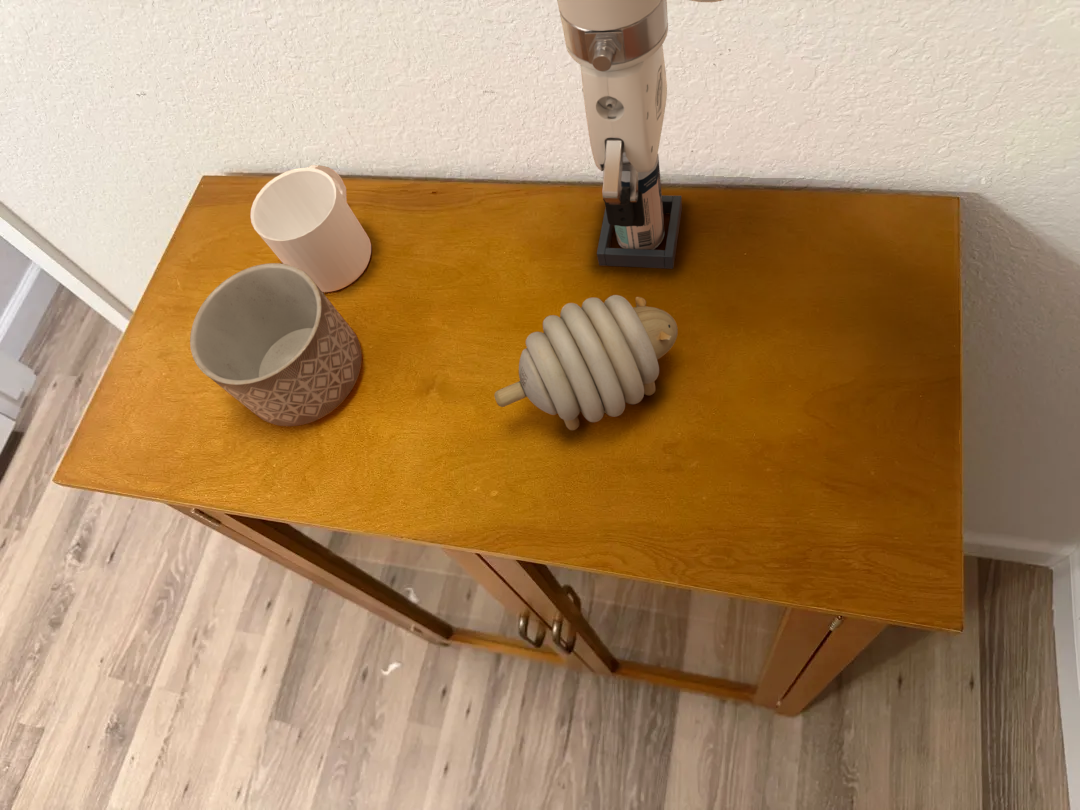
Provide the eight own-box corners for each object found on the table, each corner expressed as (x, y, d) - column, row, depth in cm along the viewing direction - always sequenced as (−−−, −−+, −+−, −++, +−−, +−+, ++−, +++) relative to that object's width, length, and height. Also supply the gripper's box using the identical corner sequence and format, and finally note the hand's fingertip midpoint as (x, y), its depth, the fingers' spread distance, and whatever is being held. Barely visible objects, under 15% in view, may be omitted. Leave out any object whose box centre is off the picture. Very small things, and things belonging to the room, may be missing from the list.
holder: (682, 208, 78) (681, 195, 76) (673, 269, 75) (672, 257, 74) (610, 206, 80) (608, 193, 78) (598, 265, 77) (596, 253, 75)
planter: (285, 309, 83) (233, 251, 73) (386, 335, 79) (344, 277, 69) (228, 413, 78) (164, 365, 69) (332, 445, 74) (279, 399, 65)
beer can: (673, 227, 77) (667, 140, 67) (650, 263, 76) (640, 180, 66) (631, 211, 79) (619, 125, 69) (608, 246, 78) (592, 163, 67)
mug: (349, 302, 81) (308, 249, 73) (280, 283, 84) (234, 230, 76) (398, 213, 85) (365, 153, 77) (331, 198, 88) (292, 139, 80)
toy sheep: (706, 392, 69) (705, 329, 59) (540, 482, 69) (512, 434, 59) (647, 308, 74) (637, 237, 64) (492, 392, 73) (458, 333, 64)
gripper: (650, 107, 51) (664, 260, 66) (681, -67, 57) (687, 108, 73) (540, 108, 53) (578, 256, 68) (582, -61, 59) (608, 109, 75)
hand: (634, 179), depth 70 cm, fingers open, 9 cm apart
